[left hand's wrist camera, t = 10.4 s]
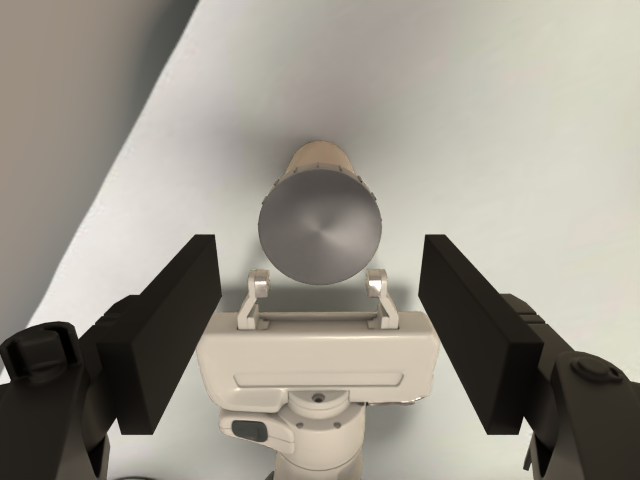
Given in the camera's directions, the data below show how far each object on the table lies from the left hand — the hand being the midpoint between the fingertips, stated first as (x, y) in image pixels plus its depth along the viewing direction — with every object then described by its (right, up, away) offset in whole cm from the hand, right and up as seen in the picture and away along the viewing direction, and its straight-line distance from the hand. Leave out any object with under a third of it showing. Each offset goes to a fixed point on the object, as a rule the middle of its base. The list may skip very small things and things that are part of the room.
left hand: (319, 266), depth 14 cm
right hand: (0, -2, +14) cm, 14 cm away
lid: (0, +2, +4) cm, 4 cm away
